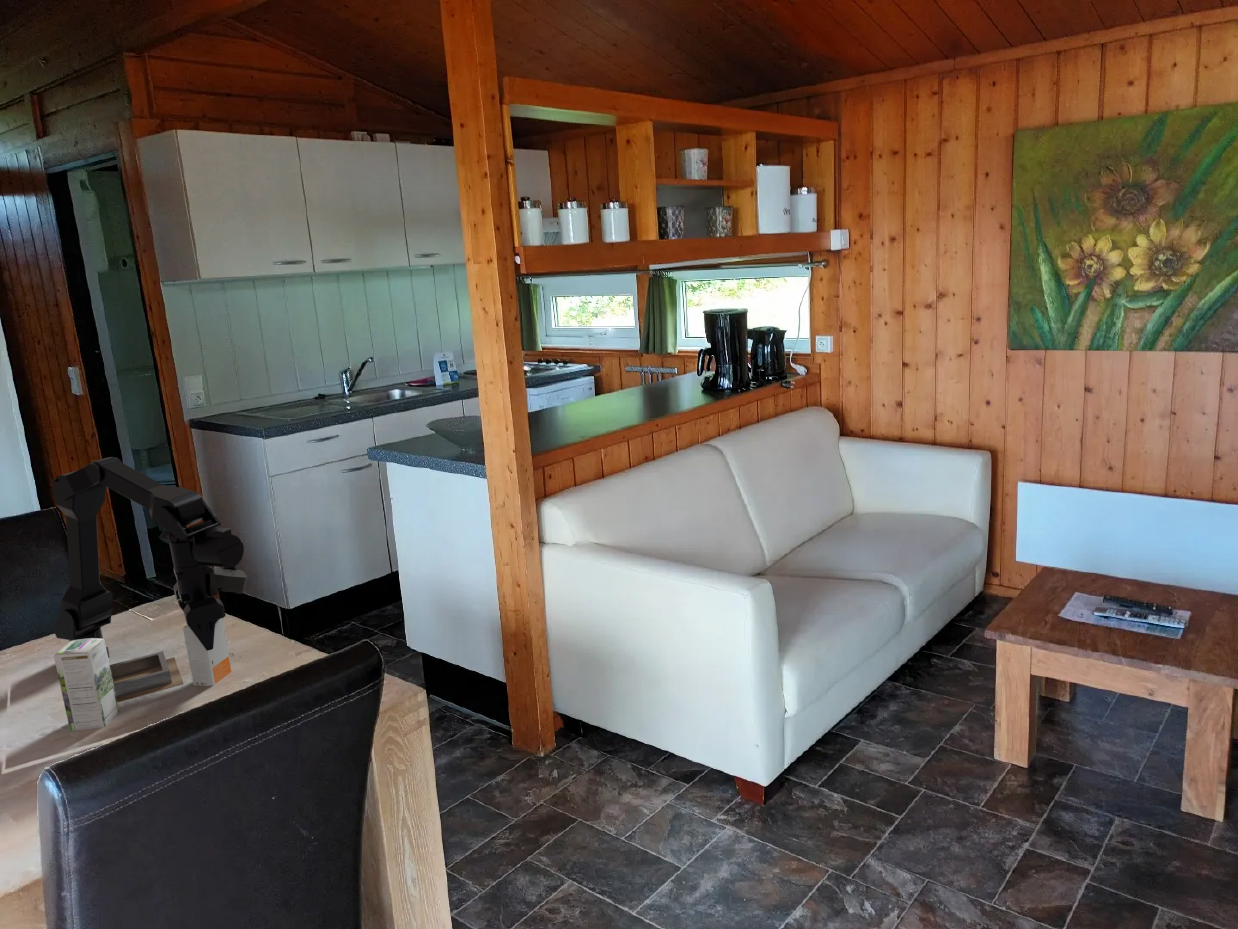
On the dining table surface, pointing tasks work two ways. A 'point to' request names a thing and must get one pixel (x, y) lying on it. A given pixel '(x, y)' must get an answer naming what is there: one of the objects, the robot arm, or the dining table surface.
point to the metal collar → (142, 681)
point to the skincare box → (208, 657)
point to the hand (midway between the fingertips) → (206, 643)
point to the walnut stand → (172, 667)
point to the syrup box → (86, 683)
